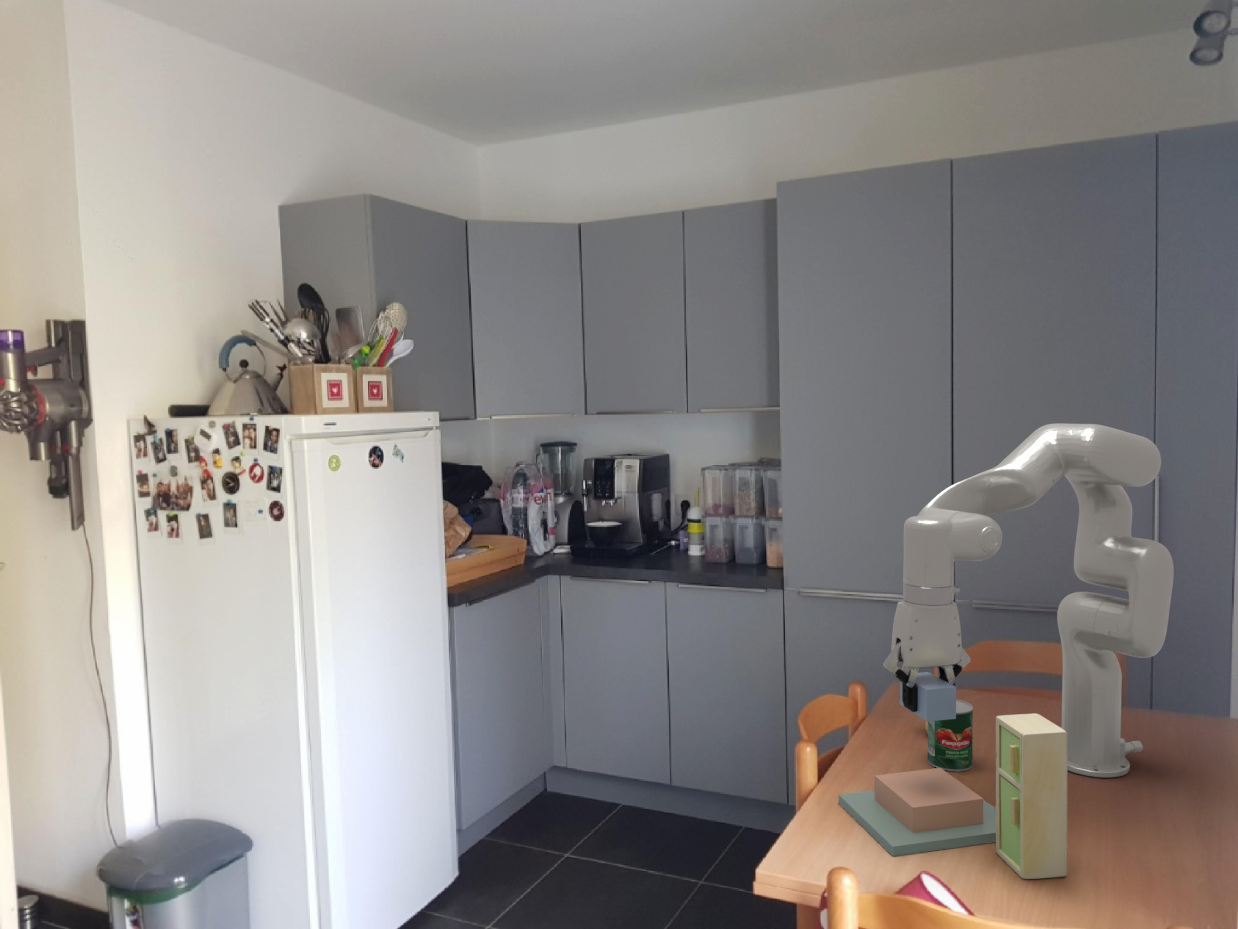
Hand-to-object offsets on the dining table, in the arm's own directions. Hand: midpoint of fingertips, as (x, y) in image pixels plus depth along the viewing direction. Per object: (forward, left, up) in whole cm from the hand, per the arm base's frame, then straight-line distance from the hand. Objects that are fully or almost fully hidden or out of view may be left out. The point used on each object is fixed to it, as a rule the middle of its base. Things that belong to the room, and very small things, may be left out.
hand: (926, 706), depth 143 cm
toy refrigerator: (-7, +16, -19) cm, 26 cm away
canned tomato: (-16, -19, -19) cm, 31 cm away
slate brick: (0, 0, -1) cm, 1 cm away
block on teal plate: (0, 0, -19) cm, 19 cm away
